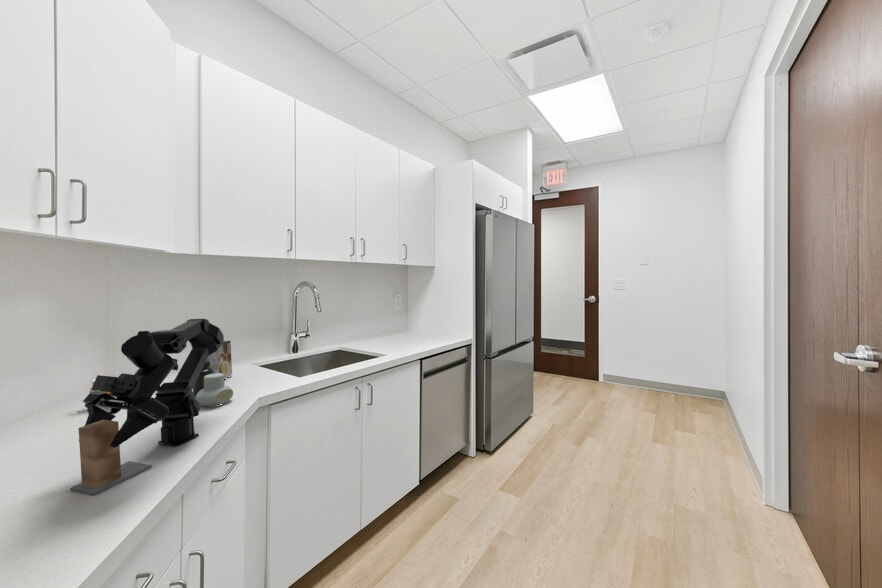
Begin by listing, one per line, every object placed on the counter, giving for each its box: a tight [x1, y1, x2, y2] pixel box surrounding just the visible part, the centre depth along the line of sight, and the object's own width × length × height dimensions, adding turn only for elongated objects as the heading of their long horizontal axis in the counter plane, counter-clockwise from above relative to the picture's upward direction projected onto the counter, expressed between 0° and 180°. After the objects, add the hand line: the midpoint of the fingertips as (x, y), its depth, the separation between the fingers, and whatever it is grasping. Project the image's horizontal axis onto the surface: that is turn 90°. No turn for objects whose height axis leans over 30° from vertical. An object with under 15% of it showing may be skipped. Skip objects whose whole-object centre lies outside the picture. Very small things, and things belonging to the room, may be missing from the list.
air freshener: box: [195, 373, 234, 407], centre depth 124 cm, size 11×8×10 cm
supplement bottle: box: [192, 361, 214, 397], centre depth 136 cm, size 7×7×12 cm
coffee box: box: [206, 340, 233, 380], centre depth 155 cm, size 9×6×16 cm
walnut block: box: [78, 420, 122, 488], centre depth 76 cm, size 4×4×12 cm
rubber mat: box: [69, 460, 152, 496], centre depth 78 cm, size 11×7×1 cm, turn 165°
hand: (96, 444), depth 75 cm, fingers open, 9 cm apart
